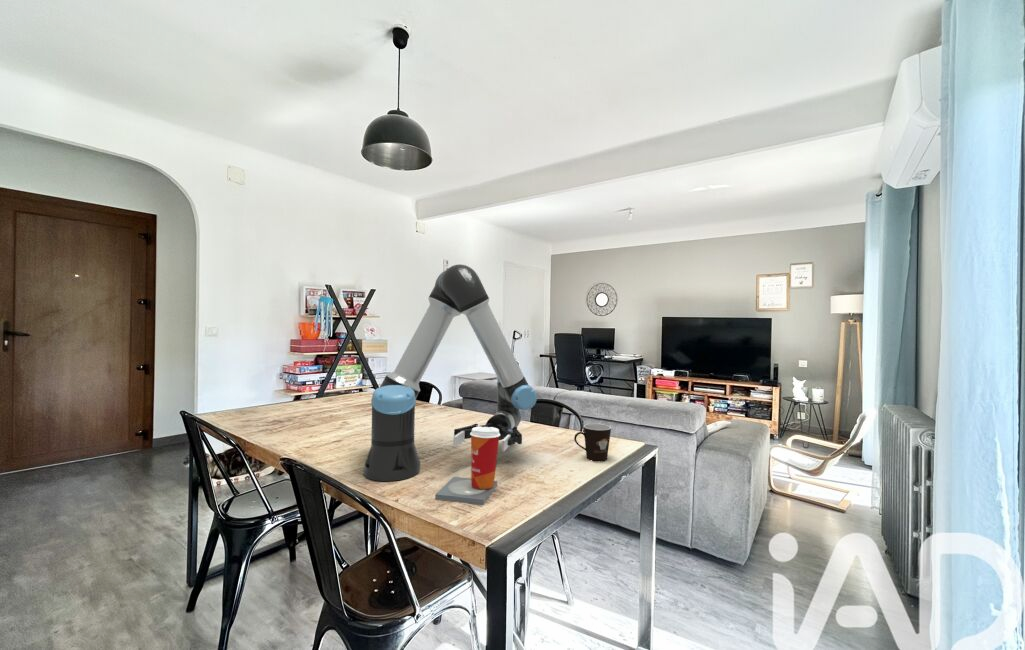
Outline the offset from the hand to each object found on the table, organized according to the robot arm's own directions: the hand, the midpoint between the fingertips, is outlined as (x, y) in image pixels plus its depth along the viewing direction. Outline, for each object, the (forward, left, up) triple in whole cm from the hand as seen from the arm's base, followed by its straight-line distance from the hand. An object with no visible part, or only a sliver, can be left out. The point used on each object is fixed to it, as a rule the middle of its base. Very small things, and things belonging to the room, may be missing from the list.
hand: (478, 443), depth 111 cm
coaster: (0, -8, -10) cm, 13 cm away
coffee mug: (+29, +28, -10) cm, 41 cm away
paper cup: (+3, -6, -9) cm, 11 cm away
